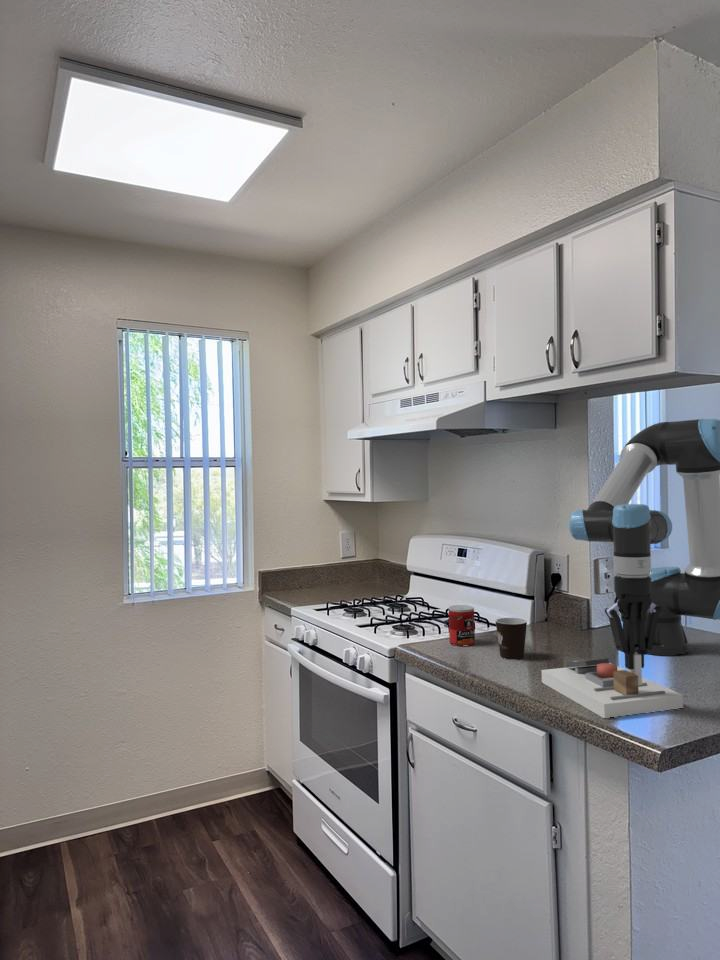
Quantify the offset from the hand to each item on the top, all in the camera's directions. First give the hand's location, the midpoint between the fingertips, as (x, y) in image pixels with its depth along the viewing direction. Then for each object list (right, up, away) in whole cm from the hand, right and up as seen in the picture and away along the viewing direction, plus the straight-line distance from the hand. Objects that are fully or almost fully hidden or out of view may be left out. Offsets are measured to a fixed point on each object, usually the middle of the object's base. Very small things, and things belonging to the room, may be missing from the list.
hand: (635, 683), depth 147 cm
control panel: (-3, -5, +8) cm, 10 cm away
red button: (-3, 0, +8) cm, 8 cm away
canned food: (-29, -6, +58) cm, 65 cm away
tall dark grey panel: (-5, 0, +15) cm, 16 cm away
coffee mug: (-17, -5, +43) cm, 47 cm away
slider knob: (-2, -2, 0) cm, 3 cm away
